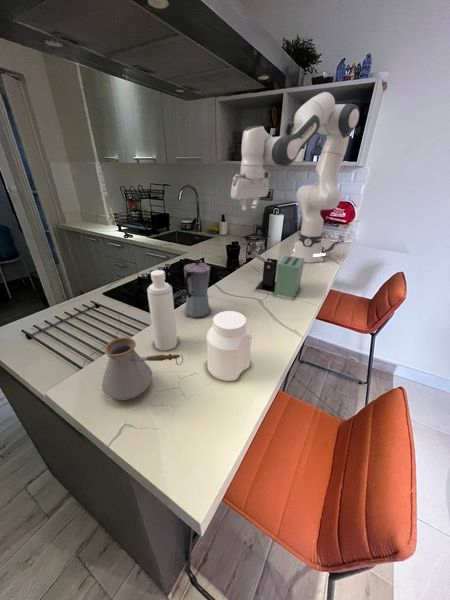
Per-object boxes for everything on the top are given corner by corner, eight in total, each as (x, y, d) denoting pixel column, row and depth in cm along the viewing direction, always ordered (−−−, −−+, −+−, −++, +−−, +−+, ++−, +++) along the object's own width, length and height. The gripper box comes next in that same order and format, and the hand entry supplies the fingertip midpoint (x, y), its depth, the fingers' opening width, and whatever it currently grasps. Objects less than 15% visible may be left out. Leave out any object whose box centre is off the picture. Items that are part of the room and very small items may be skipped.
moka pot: (216, 304, 100) (216, 255, 90) (202, 326, 87) (200, 271, 77) (193, 301, 102) (190, 252, 92) (176, 321, 89) (171, 267, 79)
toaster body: (274, 295, 107) (278, 264, 100) (281, 285, 116) (285, 255, 110) (293, 300, 104) (298, 267, 97) (299, 288, 113) (304, 258, 107)
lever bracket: (255, 290, 111) (258, 262, 105) (263, 282, 119) (265, 255, 113) (273, 294, 108) (277, 266, 102) (280, 285, 116) (283, 258, 110)
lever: (246, 254, 108) (248, 250, 107) (250, 251, 112) (253, 247, 111) (270, 270, 107) (273, 266, 105) (273, 266, 111) (276, 262, 109)
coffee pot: (93, 397, 60) (76, 347, 53) (126, 365, 70) (116, 319, 62) (172, 428, 54) (165, 376, 46) (197, 388, 63) (194, 340, 56)
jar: (227, 347, 77) (228, 304, 70) (254, 361, 72) (258, 316, 65) (201, 369, 69) (199, 322, 62) (230, 386, 64) (231, 337, 57)
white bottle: (182, 341, 79) (175, 265, 67) (166, 353, 74) (156, 273, 62) (166, 334, 82) (157, 260, 70) (150, 345, 77) (138, 267, 65)
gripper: (239, 174, 95) (238, 213, 102) (272, 173, 108) (269, 207, 114) (227, 173, 99) (226, 210, 106) (260, 172, 112) (258, 206, 118)
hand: (249, 209), depth 110 cm, fingers open, 5 cm apart
